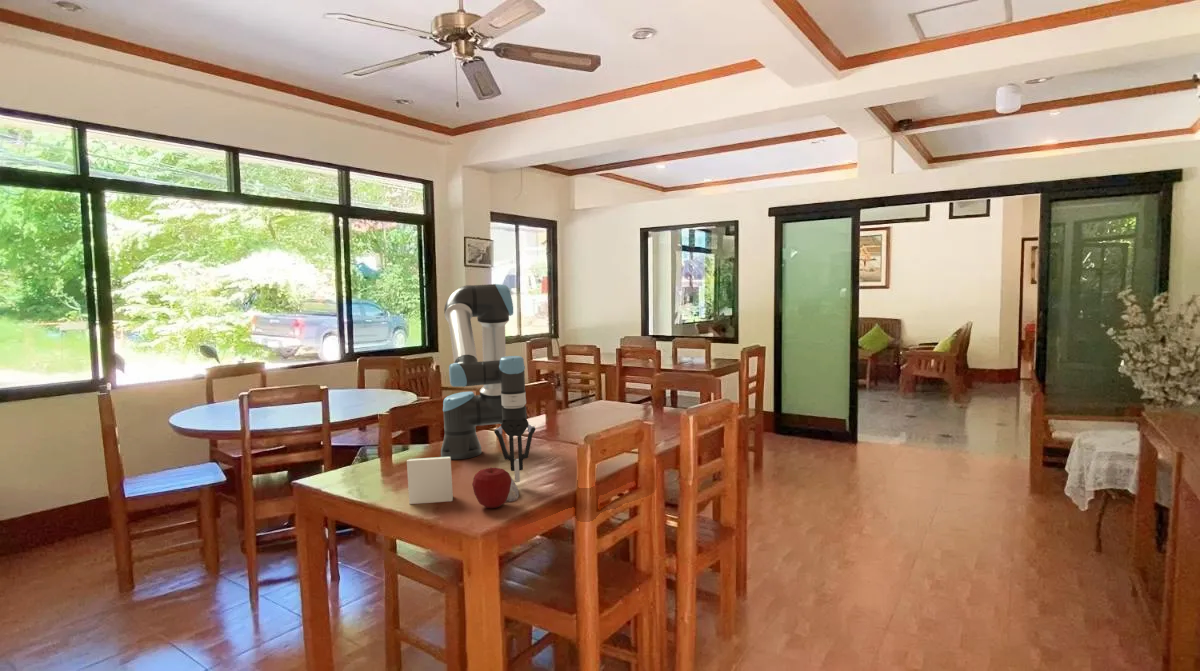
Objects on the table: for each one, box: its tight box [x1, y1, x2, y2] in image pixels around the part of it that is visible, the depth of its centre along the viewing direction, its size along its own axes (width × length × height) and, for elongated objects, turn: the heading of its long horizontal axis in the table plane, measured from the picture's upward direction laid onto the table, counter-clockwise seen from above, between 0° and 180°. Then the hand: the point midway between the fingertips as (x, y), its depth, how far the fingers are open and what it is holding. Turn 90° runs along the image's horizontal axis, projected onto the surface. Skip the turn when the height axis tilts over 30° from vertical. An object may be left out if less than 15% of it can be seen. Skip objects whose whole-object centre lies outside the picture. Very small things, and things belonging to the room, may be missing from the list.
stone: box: [505, 475, 520, 503], centre depth 193 cm, size 17×10×10 cm
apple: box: [472, 467, 512, 509], centre depth 181 cm, size 11×11×12 cm
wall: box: [406, 457, 454, 505], centre depth 187 cm, size 1×12×13 cm, turn 96°
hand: (517, 480), depth 198 cm, fingers closed
